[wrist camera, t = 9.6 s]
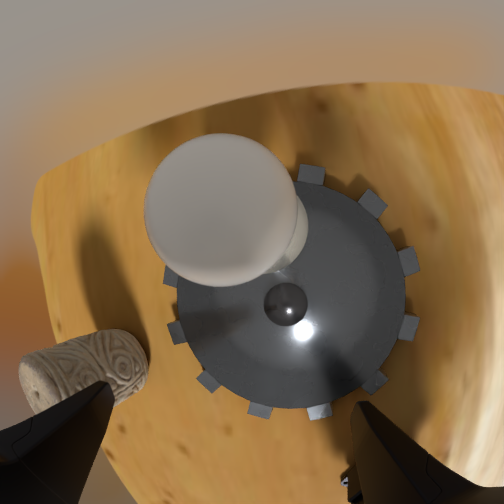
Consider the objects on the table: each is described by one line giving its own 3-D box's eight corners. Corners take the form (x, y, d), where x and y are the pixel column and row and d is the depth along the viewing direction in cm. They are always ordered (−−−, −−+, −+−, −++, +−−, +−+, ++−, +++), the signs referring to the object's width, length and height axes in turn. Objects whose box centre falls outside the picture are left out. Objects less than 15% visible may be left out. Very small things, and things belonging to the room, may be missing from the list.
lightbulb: (312, 272, 18) (293, 293, 7) (221, 277, 20) (113, 295, 9) (304, 178, 18) (275, 88, 8) (217, 189, 20) (116, 132, 9)
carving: (101, 317, 25) (6, 340, 13) (158, 336, 23) (56, 381, 12) (104, 370, 25) (21, 407, 14) (159, 393, 23) (75, 453, 12)
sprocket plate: (451, 241, 17) (462, 240, 15) (331, 441, 19) (331, 454, 17) (233, 137, 21) (225, 128, 19) (145, 337, 23) (133, 343, 22)
